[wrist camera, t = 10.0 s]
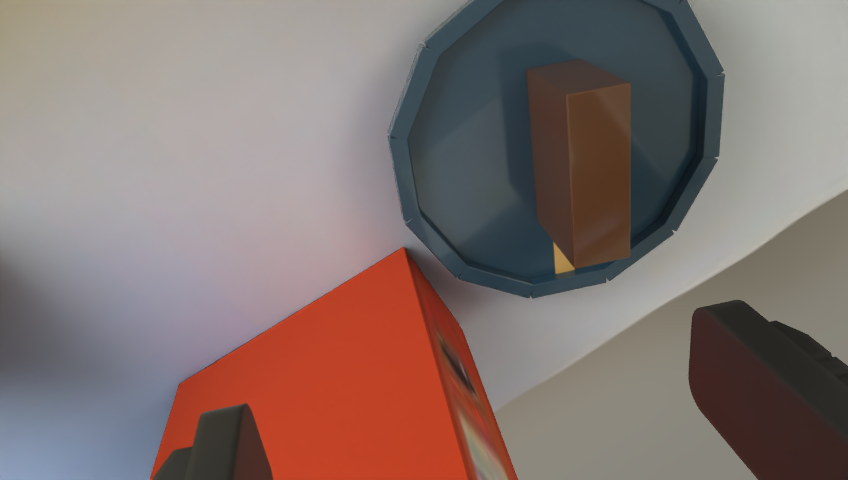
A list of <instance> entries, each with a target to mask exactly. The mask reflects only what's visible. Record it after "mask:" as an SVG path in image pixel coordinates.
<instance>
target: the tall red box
mask: <svg viewBox="0 0 848 480" xmlns="http://www.w3.org/2000/svg"><path fill="white" fill-rule="evenodd" d="M244 403H247V404H248V405H249V406H250V408H251V410H252V413H253V416H254V419H255V422H256V425H257V428H258V431H259V434H260V437H261V440H262V443H263V446H264V449H265V452H266V455H267V458H268V461H269V464H270V467H271V471H272V475H273V480H518V478H517V476H516V473H515V470H514V468H513V465H512V462H511V459H510V457H509V454H508V451H507V449H506V446H505V443H504V441H503V438H502V435H501V432H500V430H499V427H498V425H497V422H496V419H495V416H494V413H493V411H492V408H491V405H490V403H489V400H488V397H487V395H486V392H485V389H484V386H483V384H482V381H481V378H480V376H479V373H478V370H477V368H476V365H475V362H474V359H473V357H472V354H471V351H470V349H469V346H468V343H467V341H466V338H465V335H464V332H463V330H462V329H461V328H460V326H459V324H458V322H457V321H456V320H455V318H454V317H453V315H452V314H451V312H450V311H449V310H448V308H447V307H446V305H445V304H444V303H443V301H442V300H441V298H440V297H439V296H438V294H437V293H436V291H435V290H434V288H433V287H432V286H431V284H430V283H429V281H428V280H427V279H426V277H425V276H424V274H423V273H422V272H421V270H420V269H419V267H418V266H417V264H416V263H415V262H414V260H413V259H412V257H411V256H410V255H409V253H408V252H407V250H406V249H405V248H404V247H402V248H401V249H399V250H397V251H396V252H394V253H393V254H391V255H389V256H388V257H386V258H384V259H383V260H381V261H379V262H378V263H376V264H375V265H373V266H371V267H370V268H368V269H366V270H365V271H363V272H362V273H360V274H358V275H357V276H355V277H353V278H352V279H350V280H348V281H347V282H345V283H344V284H342V285H340V286H339V287H337V288H335V289H334V290H332V291H330V292H329V293H327V294H326V295H324V296H322V297H321V298H319V299H317V300H316V301H314V302H313V303H311V304H309V305H308V306H306V307H304V308H303V309H301V310H299V311H298V312H296V313H295V314H293V315H291V316H290V317H288V318H286V319H285V320H283V321H282V322H280V323H278V324H277V325H275V326H273V327H272V328H270V329H268V330H267V331H265V332H264V333H262V334H260V335H259V336H257V337H255V338H254V339H252V340H250V341H249V342H247V343H246V344H244V345H242V346H241V347H239V348H237V349H236V350H234V351H233V352H231V353H229V354H228V355H226V356H224V357H223V358H221V359H219V360H218V361H216V362H215V363H213V364H211V365H210V366H208V367H206V368H205V369H203V370H202V371H200V372H198V373H197V374H195V375H193V376H192V377H190V378H188V379H187V380H185V381H184V382H182V383H180V384H179V386H178V389H177V393H176V396H175V399H174V402H173V406H172V409H171V412H170V415H169V418H168V422H167V425H166V428H165V431H164V435H163V438H162V441H161V444H160V448H159V451H158V454H157V457H156V461H155V464H154V467H153V470H152V473H151V477H150V480H153V477H154V475H155V474H156V473H157V471H158V470H159V469H160V467H161V466H162V465H163V463H164V462H165V461H166V459H167V458H168V457H169V455H170V454H171V453H172V451H173V450H176V449H181V448H186V447H190V446H193V442H194V438H195V433H196V429H197V425H198V421H199V417H200V415H201V414H202V413H203V412H206V411H211V410H216V409H221V408H225V407H230V406H235V405H239V404H244Z"/></svg>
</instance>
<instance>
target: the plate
mask: <svg viewBox="0 0 848 480" xmlns="http://www.w3.org/2000/svg"><path fill="white" fill-rule="evenodd" d="M423 43H424V44H425V45H426V46H425V45H422V44H420V45H419V48H418V50H417V53H416V56H415V59H414V61H413V64H412V67H411V69H410V72H409V75H408V78H407V80H406V83H405V86H404V88H403V91H402V94H401V97H400V99H399V102H398V105H397V107H396V110H395V113H394V116H393V118H392V121H391V124H390V126H389V129H388V133H389V135H388V142H389V148H390V153H391V159H392V164H393V169H394V175H395V180H396V186H397V191H398V197H399V202H400V208H401V213H402V217H403V220H404V221H405V224H406V225H407V226H408V227H409V229H410V230H411V231H412V232H413V233H414V234H415V235H416V236H417V237H418V238H419V239H420V240H421V241H422V242H423V243H424V244H425V246H426V247H427V248H428V249H429V250H430V251H431V252H432V253H433V254H434V255H435V256H436V257H437V258H438V259H439V260H440V261H441V263H442V264H443V265H444V266H445V267H446V268H447V269H448V270H449V271H450V272H451V273H452V274H453V275H454V276H455V277H456V278H457V277H458V278H459V279H460V280H463V281H467V282H470V283H474V284H478V285H481V286H485V287H489V288H493V289H496V290H500V291H504V292H507V293H511V294H515V295H518V296H522V297H526V298H530V296H531V297H532V298H537V297H542V296H546V295H551V294H555V293H560V292H565V291H569V290H574V289H578V288H583V287H588V286H592V285H597V284H602V283H606V278H607V279H608V280H609V281H610V280H612V279H613V278H614V277H616V276H617V275H619V274H620V273H621V272H623V271H624V270H625V269H627V268H628V267H629V266H631V265H632V264H634V263H635V262H636V261H638V260H639V259H640V258H642V257H643V256H644V255H646V254H647V253H648V252H650V251H651V250H653V249H654V248H655V247H657V246H658V245H659V244H661V243H662V242H663V241H665V240H666V239H668V238H669V237H670V236H672V235H673V234H674V233H673V231H672V230H674V231H677V229H678V228H679V226H680V224H681V222H682V221H683V219H684V217H685V216H686V214H687V212H688V210H689V209H690V207H691V205H692V204H693V202H694V200H695V198H696V197H697V195H698V193H699V192H700V190H701V188H702V186H703V185H704V183H705V181H706V180H707V178H708V176H709V174H710V173H711V171H712V169H713V167H714V166H715V164H716V162H717V161H718V160H717V159H716V158H714V157H718V156H719V149H720V135H721V121H722V107H723V92H724V78H725V74H723V73H722V72H723V71H724V70H723V68H722V66H721V64H720V62H719V60H718V58H717V57H716V55H715V53H714V51H713V49H712V47H711V45H710V43H709V41H708V40H707V38H706V36H705V34H704V32H703V30H702V28H701V26H700V24H699V23H698V21H697V19H696V17H695V15H694V13H693V11H692V9H691V7H690V6H689V4H688V2H687V0H469V1H468V2H467V3H465V4H464V5H463V6H462V7H461V8H460V9H458V10H457V11H456V12H455V13H454V14H453V15H451V16H450V17H449V18H448V19H447V20H446V21H445V22H443V23H442V24H441V25H440V26H439V27H438V28H436V29H435V30H434V31H433V32H432V33H431V34H429V35H428V36H427V37H426V38H425V39H424V40H423Z"/></svg>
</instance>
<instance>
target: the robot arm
mask: <svg viewBox="0 0 848 480" xmlns="http://www.w3.org/2000/svg"><path fill="white" fill-rule="evenodd" d="M691 327H692V328H691V343H690V359H689V385H690V389H691V392H692V396H693V398H694V400H695V402H696V404H697V406H698V407H699V409H700V411H701V412H702V413H703V414H704V416H705V417H706V418H707V419H708V420H709V421H710V423H711V424H712V425H713V426H714V427H715V429H716V430H717V431H718V432H719V433H720V434H721V436H722V437H723V438H724V439H725V441H726V442H727V443H728V444H729V445H730V446H731V448H732V449H733V450H734V451H735V453H736V454H737V455H738V456H739V457H740V459H741V460H742V461H743V462H744V463H745V464H746V466H747V467H748V468H749V469H750V470H751V472H752V473H753V474H754V475H755V476H756V478H757V479H758V480H848V366H847V365H846V364H844V363H843V362H842V361H841V360H839V359H838V358H837V357H832V356H831V353H830V352H829V351H828V350H826V349H825V348H824V347H823V346H822V345H820V344H819V343H818V342H816V341H815V340H814V339H812V338H811V337H810V336H809V335H807V334H805V333H803V332H801V331H798V330H796V329H794V328H791V327H789V326H787V325H785V324H782V323H780V322H778V321H772V322H768V321H767V320H766V319H765V318H764V317H763V316H761V315H760V314H759V313H758V312H756V311H755V310H754V309H753V308H752V307H750V306H749V305H748V304H746V303H745V302H744V301H741V300H733V301H729V302H724V303H720V304H715V305H711V306H705V307H700V308H697V309H696V310H695V311H694V313H693V316H692V326H691ZM153 480H273V475H272V471H271V467H270V464H269V461H268V458H267V455H266V452H265V449H264V446H263V443H262V440H261V437H260V434H259V431H258V428H257V425H256V422H255V419H254V416H253V413H252V410H251V408H250V406H249V405H248V404H247V403H244V404H239V405H235V406H230V407H225V408H221V409H216V410H211V411H206V412H203V413H202V414H201V415H200V417H199V421H198V425H197V429H196V433H195V438H194V442H193V446H190V447H186V448H181V449H176V450H173V451H172V453H171V454H170V455H169V457H168V458H167V459H166V461H165V462H164V463H163V465H162V466H161V467H160V469H159V470H158V471H157V473H156V474H155V475H154V477H153Z"/></svg>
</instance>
